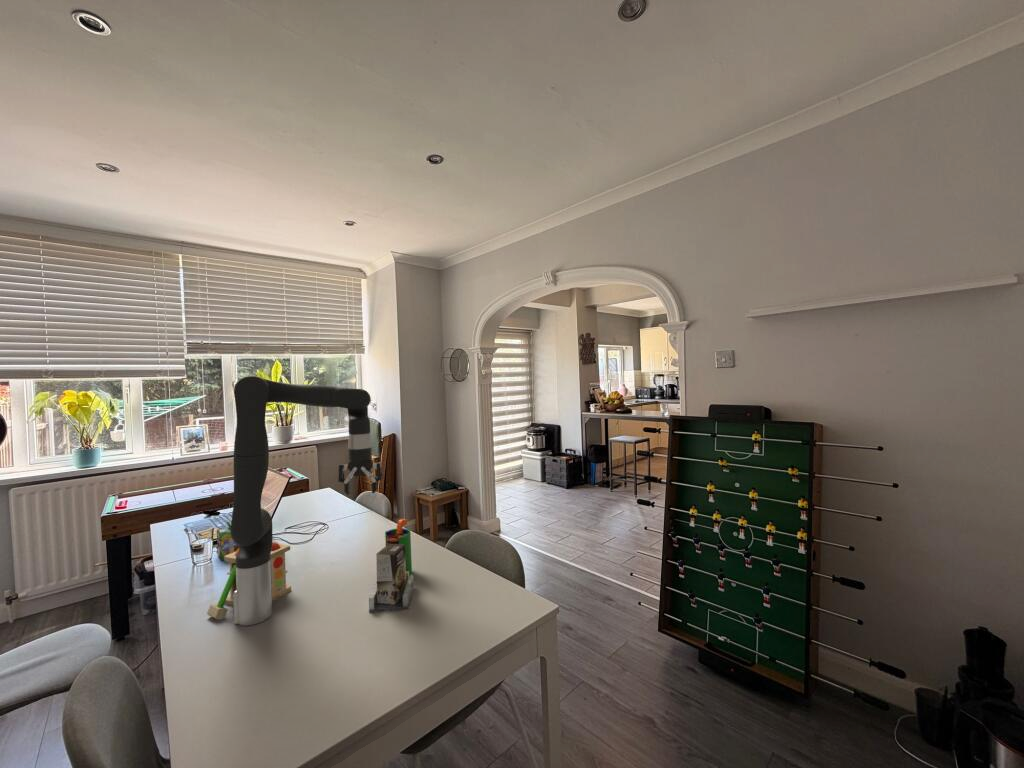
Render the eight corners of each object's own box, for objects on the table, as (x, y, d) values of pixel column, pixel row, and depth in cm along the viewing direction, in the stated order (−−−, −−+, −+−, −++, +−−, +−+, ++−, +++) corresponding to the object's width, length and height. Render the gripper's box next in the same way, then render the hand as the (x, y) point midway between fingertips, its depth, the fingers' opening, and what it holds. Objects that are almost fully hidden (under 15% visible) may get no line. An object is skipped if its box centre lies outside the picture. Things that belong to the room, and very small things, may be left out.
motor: (380, 576, 157) (379, 522, 157) (397, 566, 165) (396, 515, 165) (401, 581, 152) (399, 526, 152) (417, 571, 160) (416, 519, 160)
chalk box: (246, 555, 180) (245, 520, 180) (221, 561, 174) (220, 526, 174) (241, 549, 187) (240, 515, 187) (217, 555, 180) (215, 521, 180)
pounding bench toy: (228, 626, 127) (226, 567, 127) (196, 617, 132) (195, 560, 132) (292, 590, 148) (291, 539, 148) (263, 584, 153) (261, 535, 153)
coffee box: (395, 605, 134) (393, 554, 134) (376, 603, 136) (375, 553, 135) (407, 590, 143) (406, 543, 143) (389, 589, 145) (388, 542, 144)
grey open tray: (369, 612, 132) (368, 593, 132) (378, 590, 146) (378, 573, 146) (407, 609, 133) (407, 590, 133) (413, 587, 147) (413, 570, 147)
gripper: (335, 449, 141) (336, 497, 141) (378, 447, 142) (380, 495, 142) (341, 445, 148) (343, 491, 148) (383, 444, 150) (384, 489, 150)
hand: (361, 493), depth 145 cm, fingers open, 8 cm apart
